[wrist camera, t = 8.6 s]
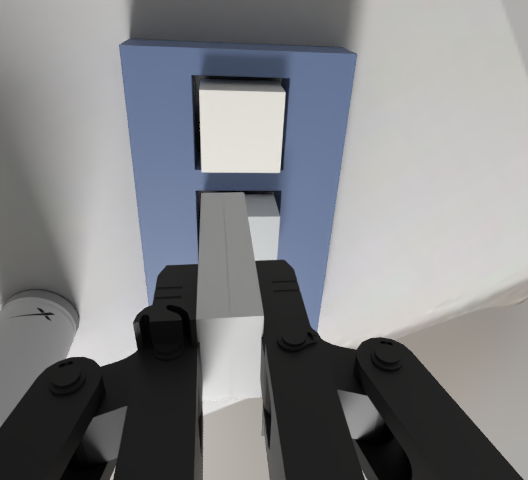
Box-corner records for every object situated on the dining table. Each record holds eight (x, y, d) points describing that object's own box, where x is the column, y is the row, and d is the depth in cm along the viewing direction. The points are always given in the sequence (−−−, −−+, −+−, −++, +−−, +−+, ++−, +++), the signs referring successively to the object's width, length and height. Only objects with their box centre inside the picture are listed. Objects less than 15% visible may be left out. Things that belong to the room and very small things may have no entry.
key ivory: (200, 78, 27) (199, 89, 24) (277, 81, 28) (285, 92, 25) (202, 153, 30) (201, 172, 27) (273, 154, 30) (280, 172, 27)
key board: (129, 38, 27) (119, 44, 24) (342, 47, 29) (357, 54, 26) (158, 324, 39) (154, 352, 36) (307, 319, 41) (315, 345, 38)
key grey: (203, 194, 30) (202, 216, 27) (273, 194, 31) (280, 216, 28) (204, 254, 33) (203, 281, 30) (269, 253, 33) (275, 279, 30)
